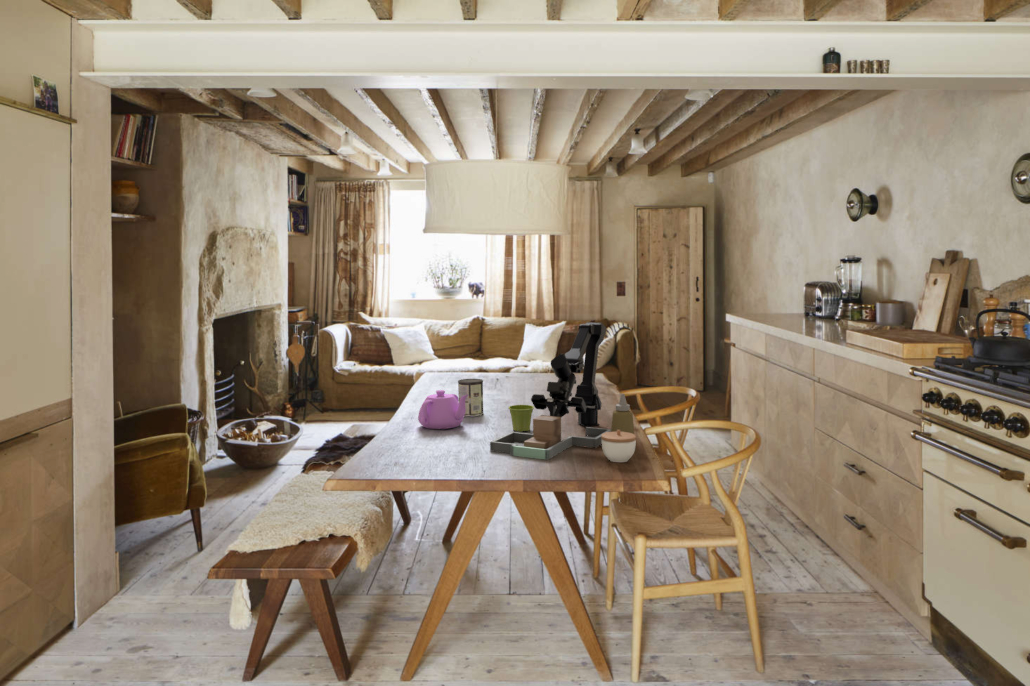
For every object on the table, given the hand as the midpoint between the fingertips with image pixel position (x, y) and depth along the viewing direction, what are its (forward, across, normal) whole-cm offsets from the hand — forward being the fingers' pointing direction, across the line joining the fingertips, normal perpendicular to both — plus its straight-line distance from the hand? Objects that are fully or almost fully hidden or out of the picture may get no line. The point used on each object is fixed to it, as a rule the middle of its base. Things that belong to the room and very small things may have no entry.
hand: (551, 423), depth 235 cm
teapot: (-1, -47, +11) cm, 49 cm away
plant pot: (-6, -19, +16) cm, 26 cm away
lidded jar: (+11, +26, -1) cm, 28 cm away
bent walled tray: (+5, 0, +5) cm, 7 cm away
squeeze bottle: (+1, +23, +10) cm, 25 cm away
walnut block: (+10, 0, 0) cm, 10 cm away
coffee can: (-18, -51, +29) cm, 61 cm away
